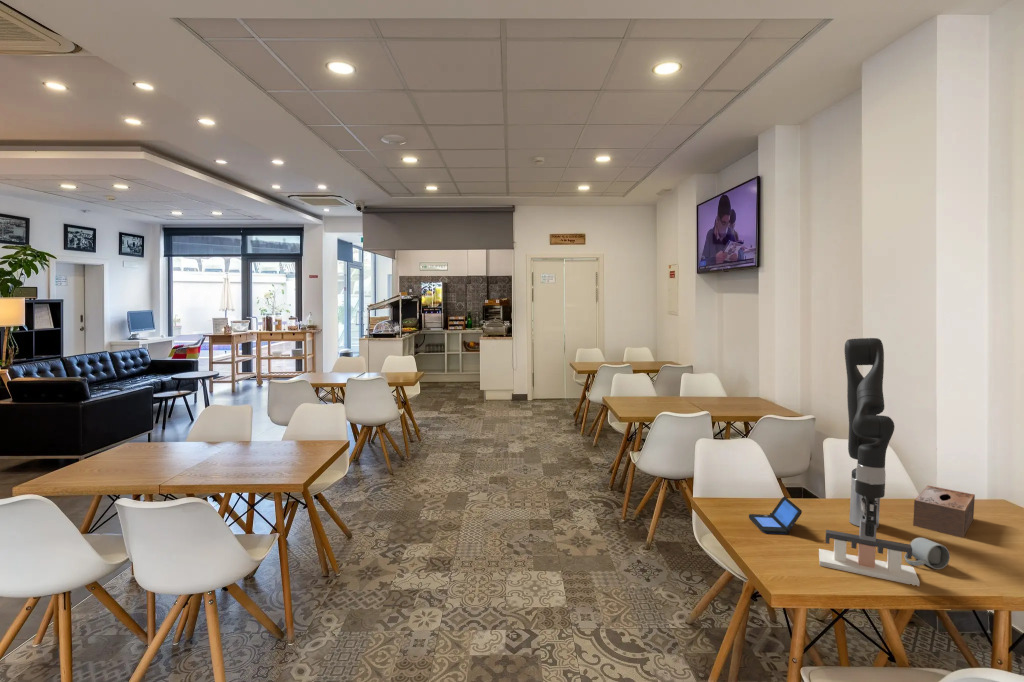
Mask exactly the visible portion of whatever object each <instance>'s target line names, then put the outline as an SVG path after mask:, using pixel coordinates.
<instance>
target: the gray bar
mask: <svg viewBox="0 0 1024 682" xmlns="http://www.w3.org/2000/svg"><path fill="white" fill-rule="evenodd" d="M877 529H878V528H877V524H876V525H874V536H873V537H869V536H866V535H865V519H862V518H860V527H859V534H853V533H849V532H841V531H835V530H830V529H826V530H825V543H826V544H828V545H830V539H831V540H834V539H837V540H842V541H847V542H849V543H851V544H850V546H851V547H850V548H851V549H855V550H856V549H857V544H858V545H859V544H864V545H869V546H875V547H876V548H877V549H876V550H877V553H878V554H882V555H883V554H884V549H886V550H888V549H891V550H896V551H902V553H905V554H906V557H907V559H908V560H912V557H913V556H912V547H911V545H910V543H904V542H897V541H893V540H887V539H882V538H877Z"/></svg>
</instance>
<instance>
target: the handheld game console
mask: <svg viewBox="0 0 1024 682" xmlns="http://www.w3.org/2000/svg"><path fill="white" fill-rule="evenodd" d="M802 512H803V511H802V509H800V507H798V506H797V505H796V504H795V503H794V502H792V501H791V500H790V499H789V498H788V497H786V496H783V497H781V499H780V500H779V502H778V503H777V504H776V505H775V507H774V509H773V510H772V512H770V513H769V514H759V513H758V514H757V513H756V514H755V513H749V514H748V518H749V519H750V520H751V521H752V523H753V524H755V527H757V528H758V529H759V530H760V532H762V533H763V534H773V535H774V534H775V535H788V536H789V535H790V530H791V529H792V528H793V526H794V525H795V523H796V522H797V521H798V520H799V518H800V517H801V515H802Z"/></svg>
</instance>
